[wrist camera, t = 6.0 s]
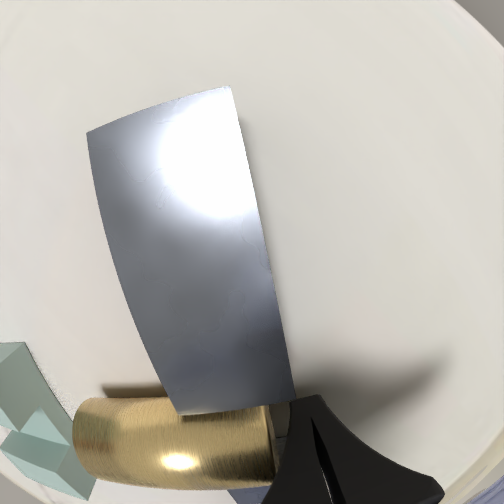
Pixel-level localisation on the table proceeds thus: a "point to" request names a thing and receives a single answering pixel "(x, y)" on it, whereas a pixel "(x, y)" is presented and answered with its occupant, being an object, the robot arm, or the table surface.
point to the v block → (38, 426)
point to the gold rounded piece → (174, 445)
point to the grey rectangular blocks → (193, 256)
